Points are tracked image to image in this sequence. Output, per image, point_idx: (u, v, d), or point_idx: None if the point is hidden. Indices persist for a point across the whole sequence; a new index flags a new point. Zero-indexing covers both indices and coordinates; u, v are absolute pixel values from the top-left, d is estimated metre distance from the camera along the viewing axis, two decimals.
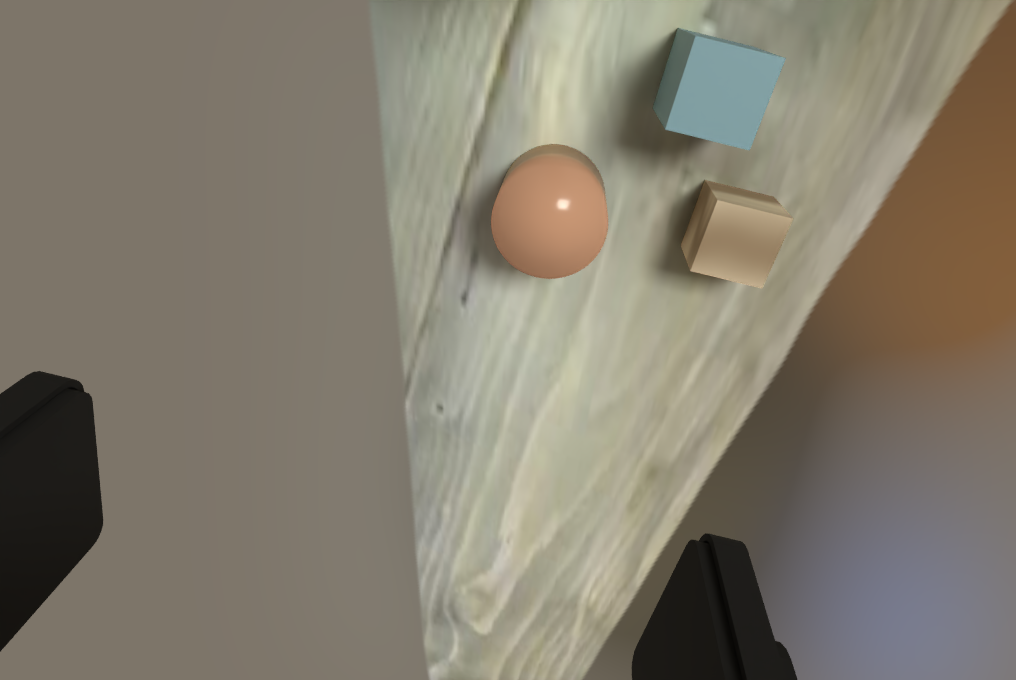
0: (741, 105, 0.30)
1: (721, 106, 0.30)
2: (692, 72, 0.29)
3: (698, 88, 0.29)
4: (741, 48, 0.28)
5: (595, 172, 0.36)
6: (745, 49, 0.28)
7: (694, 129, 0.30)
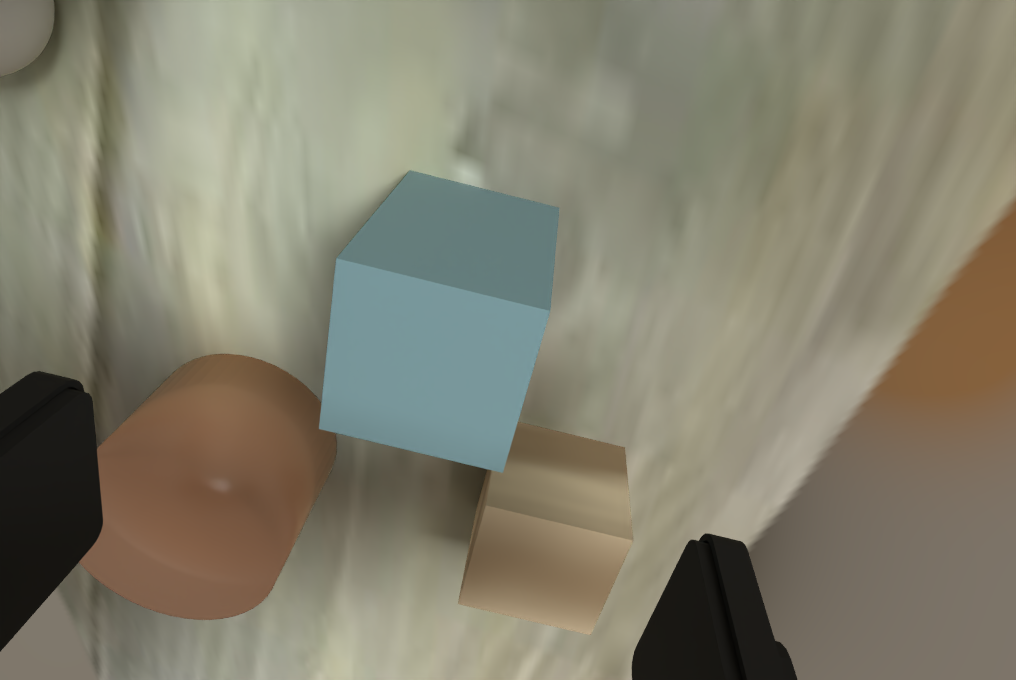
0: (469, 394, 0.13)
1: (426, 393, 0.13)
2: (348, 329, 0.13)
3: (368, 360, 0.13)
4: (446, 287, 0.12)
5: (286, 419, 0.19)
6: (456, 289, 0.12)
7: (379, 432, 0.14)
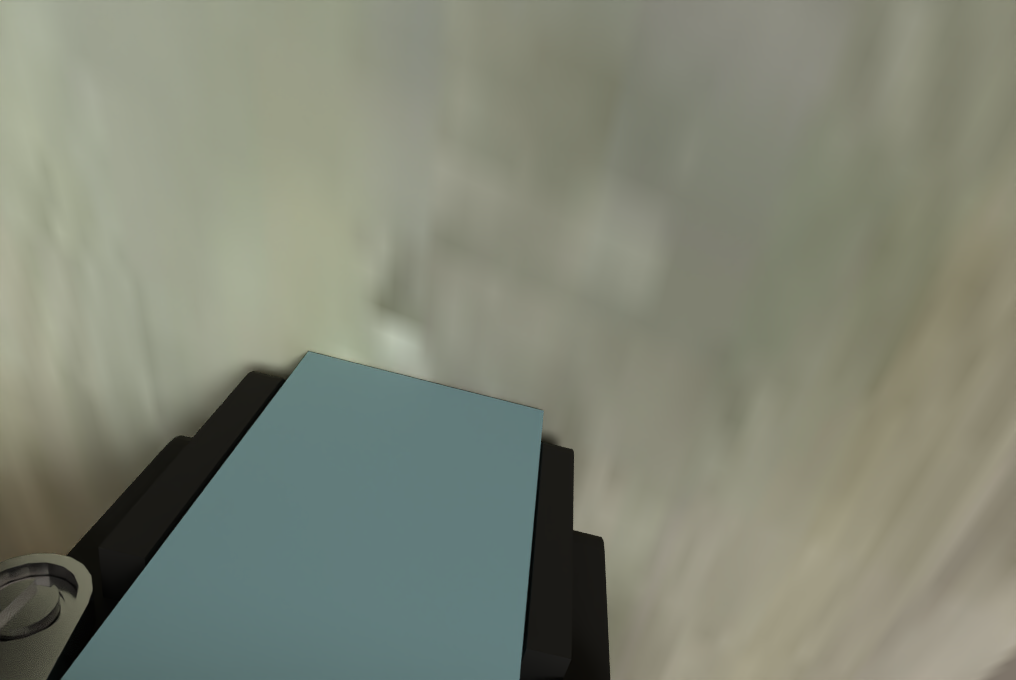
0: None
1: None
2: None
3: None
4: None
5: None
6: None
7: None
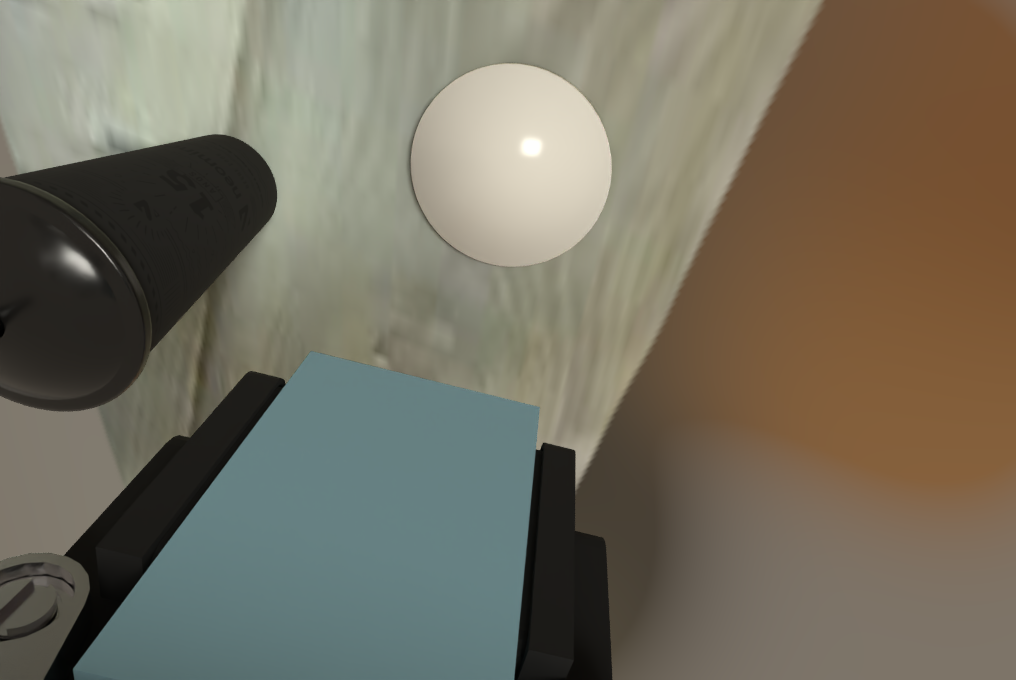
0: None
1: None
2: None
3: None
4: None
5: None
6: None
7: None
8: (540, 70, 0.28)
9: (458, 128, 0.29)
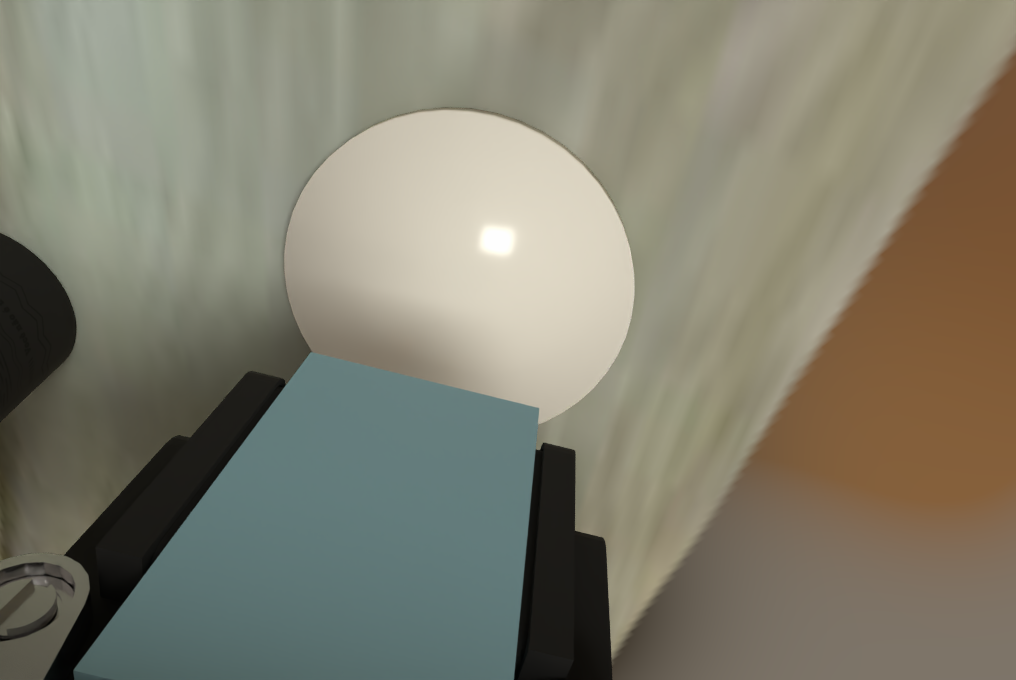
0: None
1: None
2: None
3: None
4: None
5: None
6: None
7: None
8: (505, 123, 0.15)
9: (362, 222, 0.16)
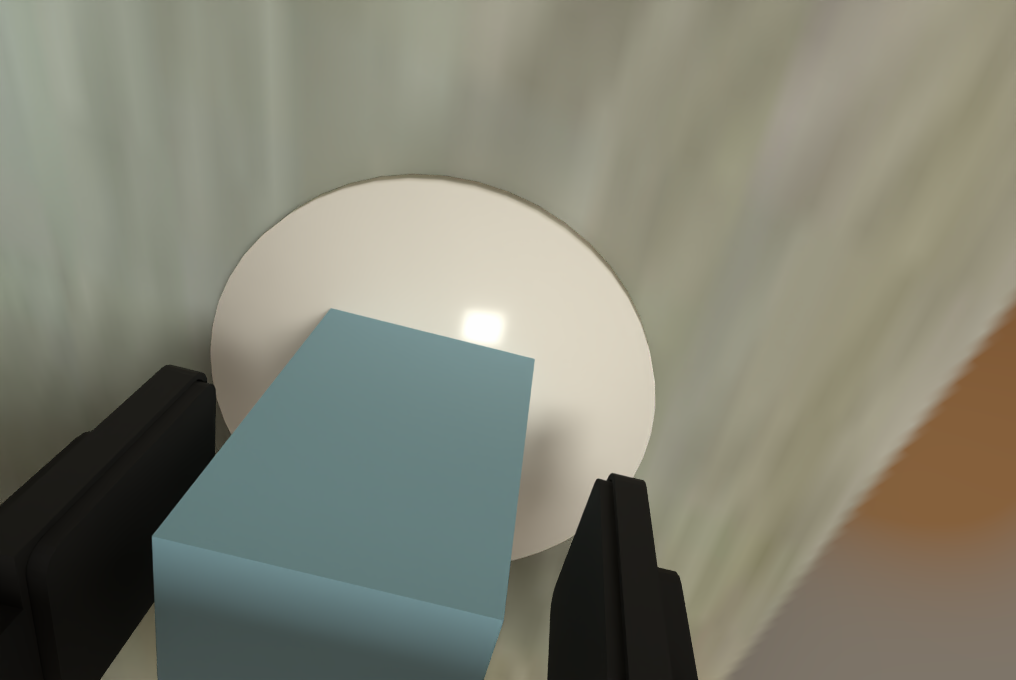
0: None
1: None
2: (185, 627, 0.08)
3: (222, 666, 0.08)
4: (334, 581, 0.07)
5: None
6: (349, 585, 0.07)
7: None
8: (488, 197, 0.11)
9: (307, 315, 0.13)
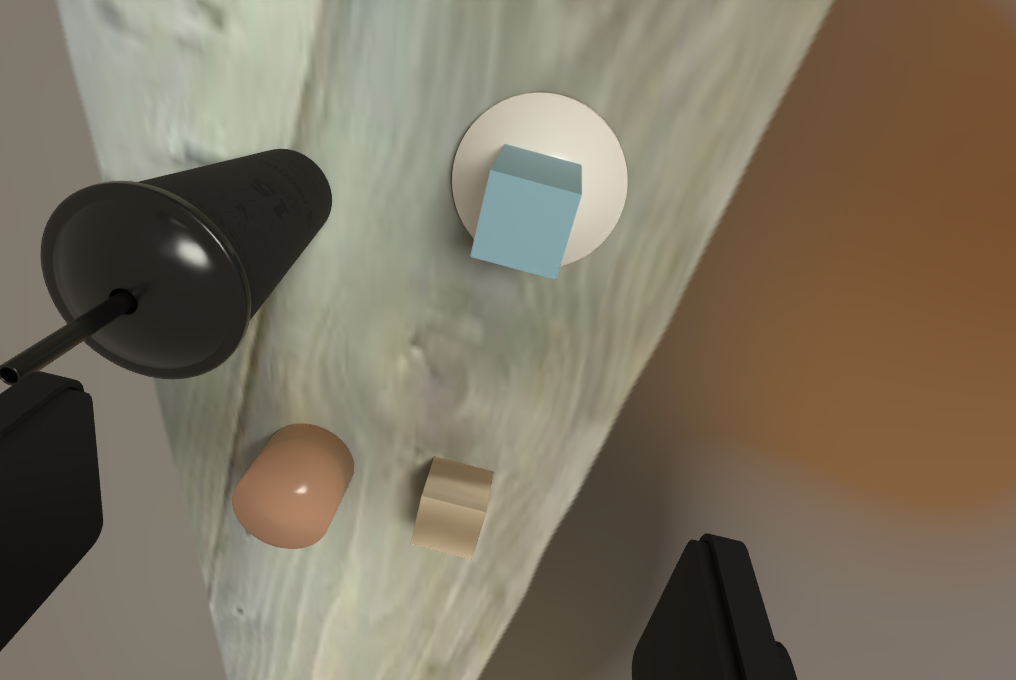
0: (543, 237, 0.29)
1: (523, 237, 0.29)
2: (491, 204, 0.29)
3: (498, 219, 0.29)
4: (537, 183, 0.28)
5: (332, 456, 0.42)
6: (541, 184, 0.28)
7: (499, 258, 0.30)
8: (568, 99, 0.32)
9: (495, 147, 0.33)
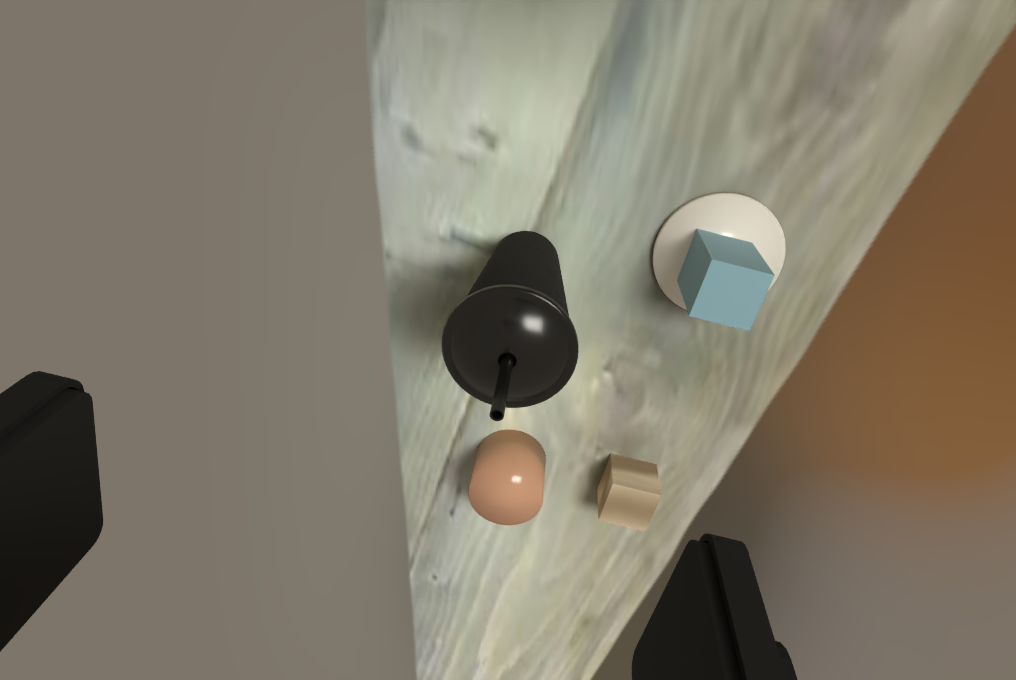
0: (743, 302, 0.42)
1: (729, 302, 0.42)
2: (709, 281, 0.41)
3: (713, 291, 0.42)
4: (744, 268, 0.41)
5: (537, 454, 0.55)
6: (746, 268, 0.41)
7: (709, 317, 0.42)
8: (747, 198, 0.45)
9: (689, 230, 0.46)
